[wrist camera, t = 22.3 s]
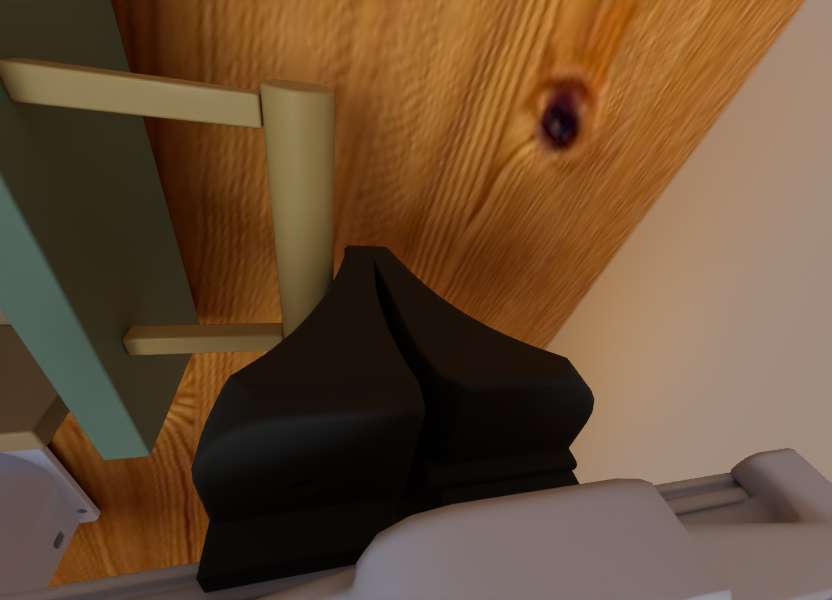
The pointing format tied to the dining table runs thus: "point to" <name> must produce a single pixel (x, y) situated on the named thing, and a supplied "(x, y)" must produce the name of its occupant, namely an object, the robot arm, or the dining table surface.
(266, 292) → the dining table surface
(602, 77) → the dining table surface
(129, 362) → the drawer
